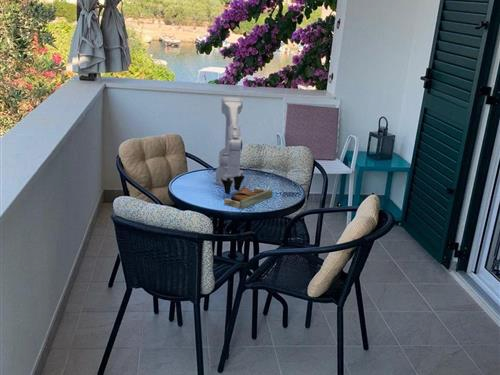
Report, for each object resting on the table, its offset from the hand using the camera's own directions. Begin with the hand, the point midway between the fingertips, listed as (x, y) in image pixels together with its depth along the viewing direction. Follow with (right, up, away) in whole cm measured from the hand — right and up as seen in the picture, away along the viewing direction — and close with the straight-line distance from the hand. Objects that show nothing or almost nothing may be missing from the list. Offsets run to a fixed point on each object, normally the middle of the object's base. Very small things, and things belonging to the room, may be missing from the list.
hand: (232, 191), depth 271 cm
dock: (+8, -4, -4) cm, 9 cm away
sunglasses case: (+6, -4, -1) cm, 7 cm away
